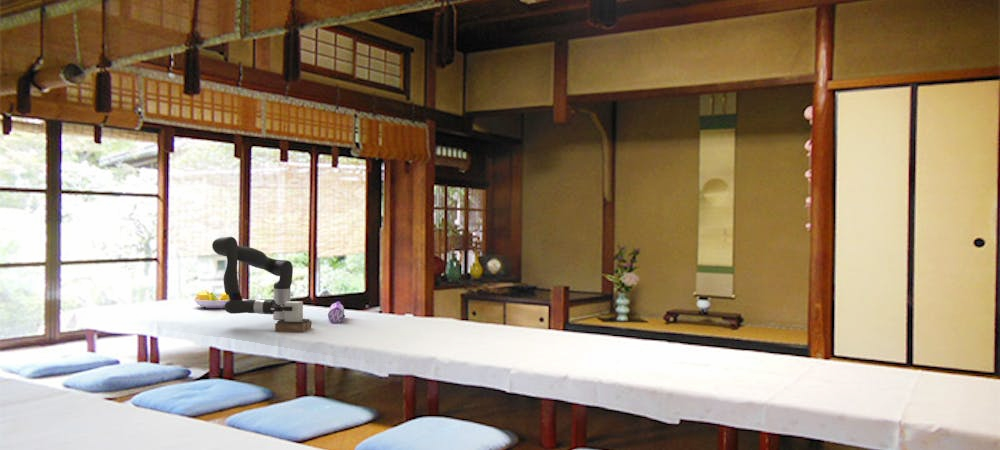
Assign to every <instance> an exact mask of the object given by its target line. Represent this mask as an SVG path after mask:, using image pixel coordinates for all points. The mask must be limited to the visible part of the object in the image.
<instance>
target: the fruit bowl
mask: <svg viewBox="0 0 1000 450" xmlns="http://www.w3.org/2000/svg"><path fill="white" fill-rule="evenodd" d="M193 300H194V301H195V303H196V304H197V305H199V306H200V307H202V308H204V307H206V308H205V309H211V308H221V309H225V308H224V306H225V303H226V302H227V301H229V300H230V299H229V296H228V295H227V294H226V293H225V290H224V291H223V292H222V293H221V294H220V295H216V294H214V293H213V291H211V292H209V291H207V290H201V291H199V292H198V293H197V294H196V296H195V297H194V298H193Z"/></svg>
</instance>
